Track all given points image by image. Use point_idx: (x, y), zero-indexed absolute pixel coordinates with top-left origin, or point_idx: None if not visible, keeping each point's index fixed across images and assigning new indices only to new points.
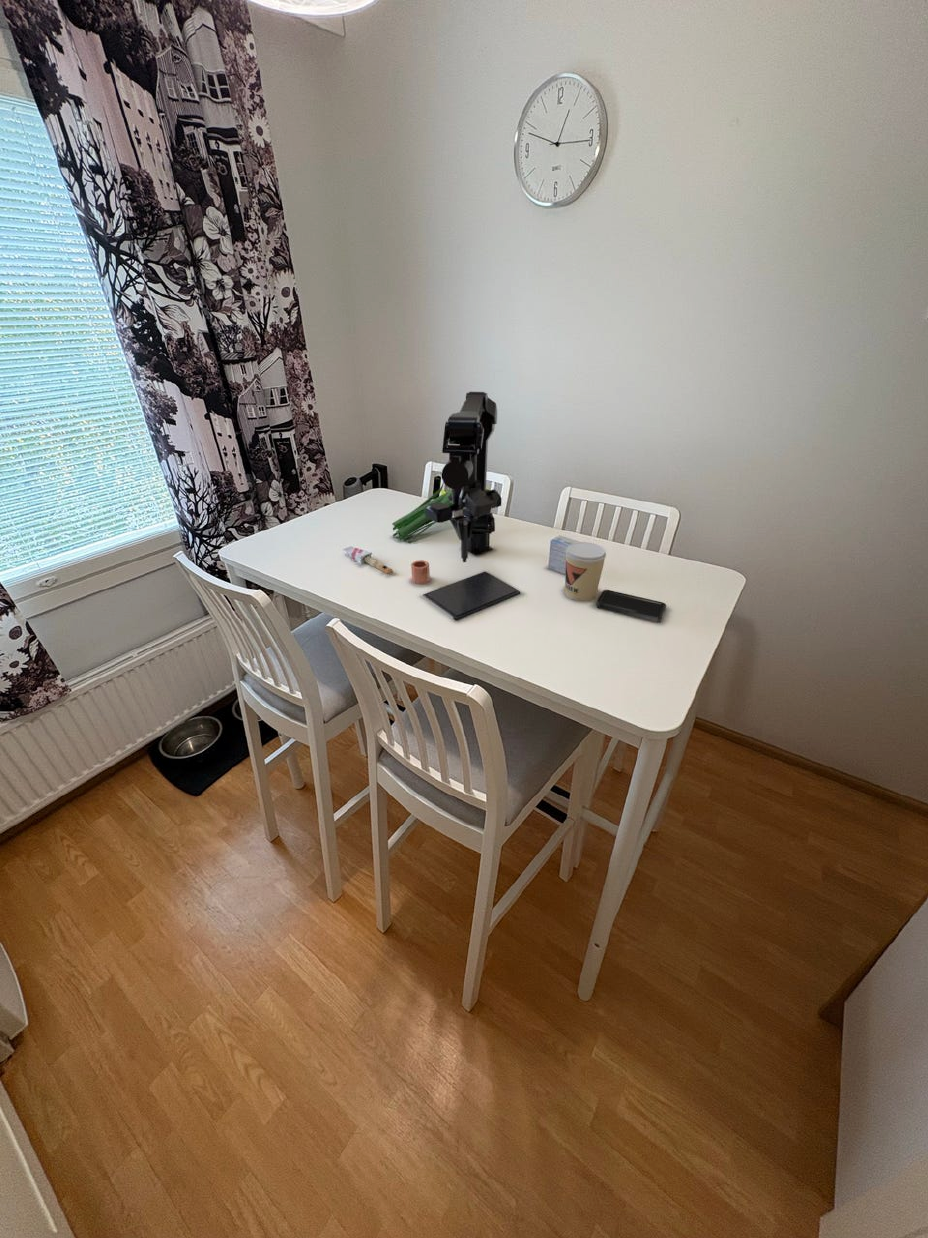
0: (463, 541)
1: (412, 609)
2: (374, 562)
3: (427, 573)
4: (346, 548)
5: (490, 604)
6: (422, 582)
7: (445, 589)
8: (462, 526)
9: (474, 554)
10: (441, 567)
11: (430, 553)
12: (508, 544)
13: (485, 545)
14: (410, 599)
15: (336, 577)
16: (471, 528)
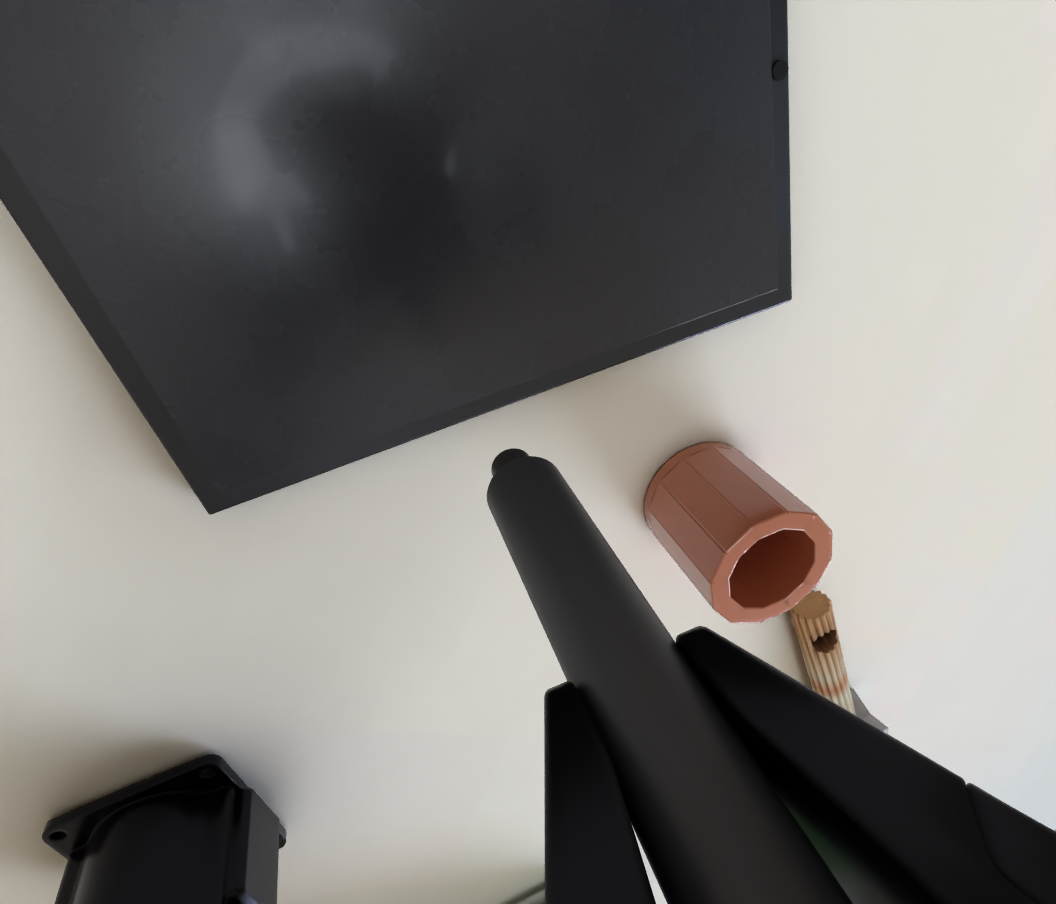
0: (655, 620)
1: (915, 147)
2: (844, 686)
3: (718, 495)
4: None
5: None
6: (726, 451)
7: (637, 307)
8: (991, 891)
9: (226, 763)
10: (510, 633)
11: (507, 781)
12: None
13: (108, 850)
14: (855, 290)
15: (983, 605)
16: (598, 890)
